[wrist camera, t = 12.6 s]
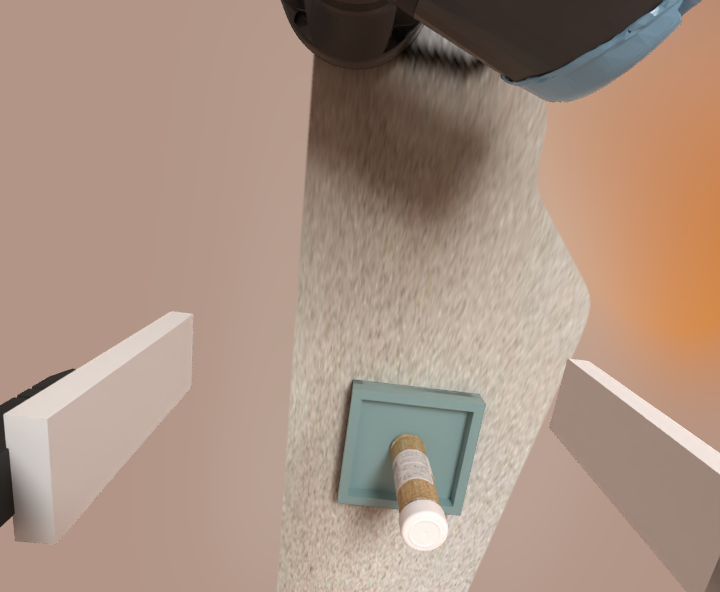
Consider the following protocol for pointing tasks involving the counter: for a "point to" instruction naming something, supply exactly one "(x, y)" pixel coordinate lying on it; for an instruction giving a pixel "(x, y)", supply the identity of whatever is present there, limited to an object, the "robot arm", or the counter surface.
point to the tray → (408, 416)
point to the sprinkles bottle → (417, 495)
